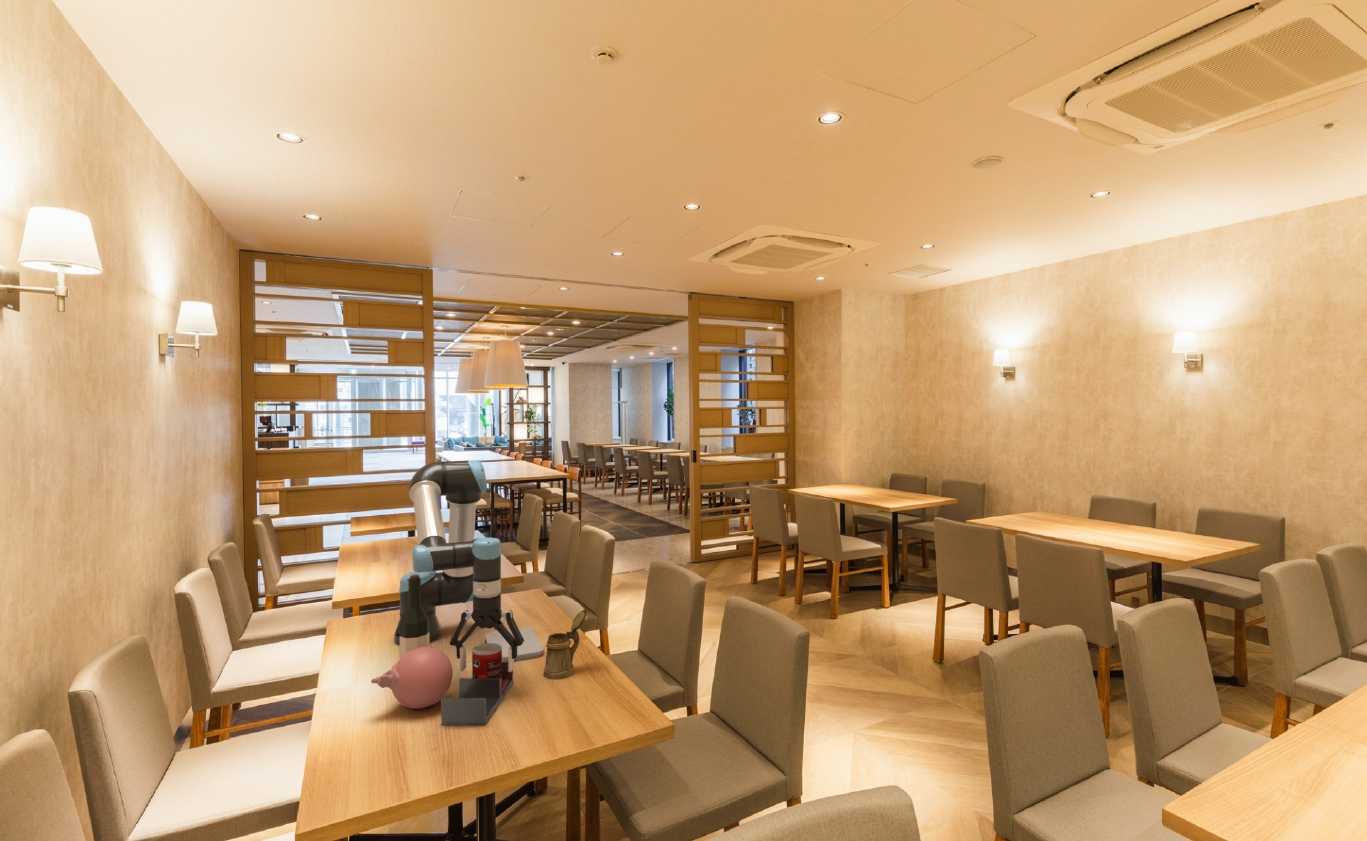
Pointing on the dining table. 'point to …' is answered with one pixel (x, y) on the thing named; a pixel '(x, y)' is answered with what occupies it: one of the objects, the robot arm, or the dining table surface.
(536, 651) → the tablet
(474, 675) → the canned food
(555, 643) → the wooden mug
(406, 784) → the dining table surface
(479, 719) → the rack
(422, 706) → the balloon
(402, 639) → the wine bottle
